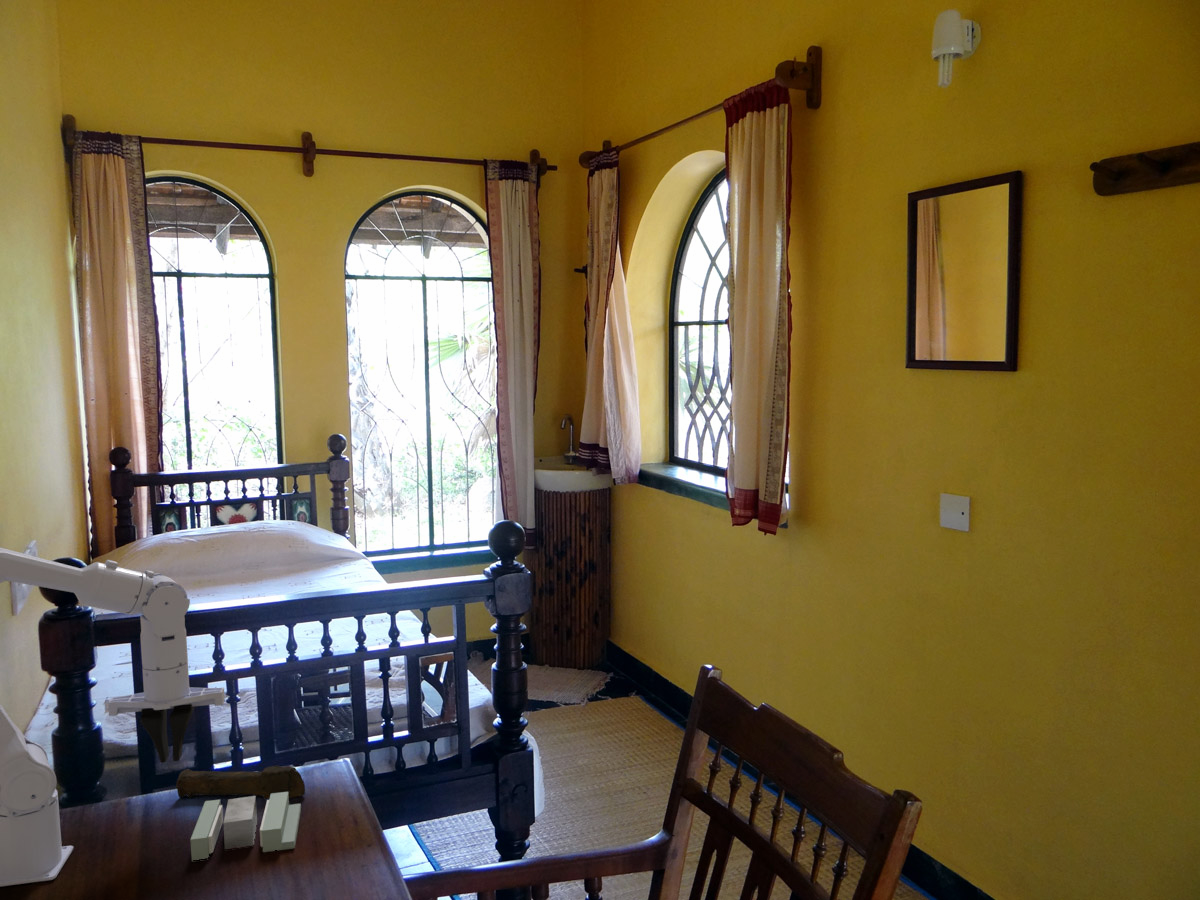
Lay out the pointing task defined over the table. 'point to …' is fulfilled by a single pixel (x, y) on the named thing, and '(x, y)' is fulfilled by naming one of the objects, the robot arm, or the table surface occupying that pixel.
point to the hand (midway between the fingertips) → (171, 758)
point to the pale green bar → (279, 823)
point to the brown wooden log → (241, 782)
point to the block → (240, 822)
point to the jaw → (207, 830)
